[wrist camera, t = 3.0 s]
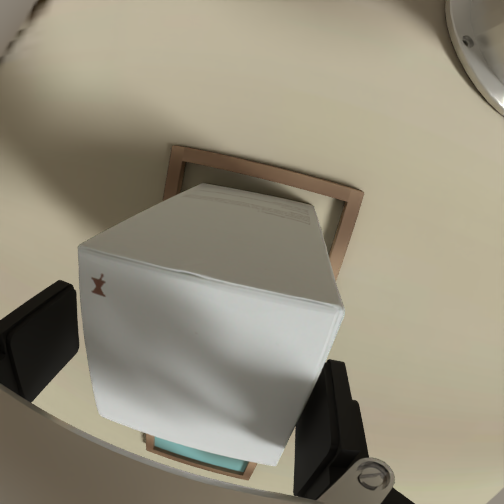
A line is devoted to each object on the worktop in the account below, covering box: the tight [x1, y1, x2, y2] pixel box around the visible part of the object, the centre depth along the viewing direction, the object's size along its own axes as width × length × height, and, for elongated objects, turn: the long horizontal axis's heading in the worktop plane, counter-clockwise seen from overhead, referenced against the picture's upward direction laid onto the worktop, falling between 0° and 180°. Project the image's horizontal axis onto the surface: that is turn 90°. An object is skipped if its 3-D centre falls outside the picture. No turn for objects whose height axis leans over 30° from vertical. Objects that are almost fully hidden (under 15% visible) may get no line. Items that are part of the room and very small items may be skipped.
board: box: [146, 145, 364, 480], centre depth 24 cm, size 31×12×1 cm, turn 167°
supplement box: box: [78, 183, 345, 466], centre depth 15 cm, size 7×7×13 cm
